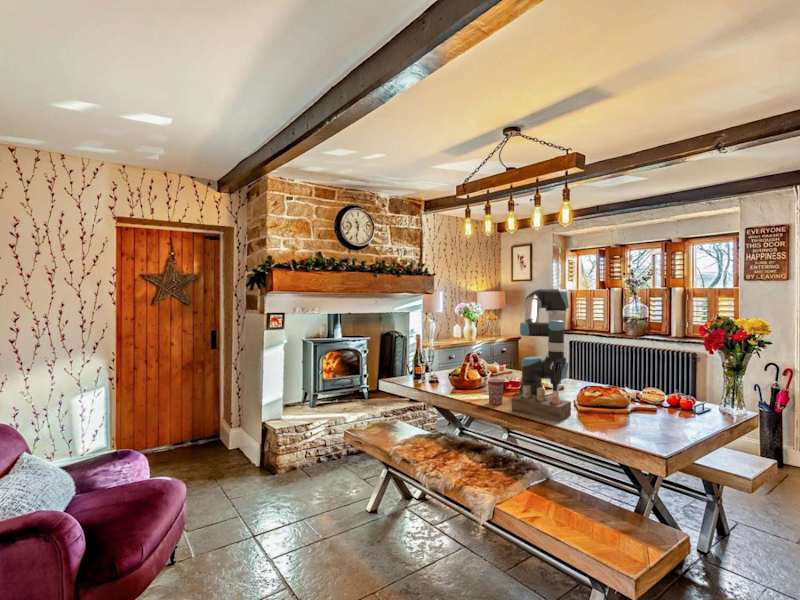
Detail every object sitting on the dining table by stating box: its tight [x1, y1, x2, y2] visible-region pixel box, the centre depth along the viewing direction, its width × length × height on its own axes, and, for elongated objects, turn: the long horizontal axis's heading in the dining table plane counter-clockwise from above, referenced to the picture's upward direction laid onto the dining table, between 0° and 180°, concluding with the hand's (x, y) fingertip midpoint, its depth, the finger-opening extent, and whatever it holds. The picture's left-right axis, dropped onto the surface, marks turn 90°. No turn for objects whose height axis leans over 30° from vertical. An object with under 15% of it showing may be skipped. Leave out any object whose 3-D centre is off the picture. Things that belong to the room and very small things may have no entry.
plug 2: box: [551, 395, 561, 404], centre depth 227 cm, size 4×4×8 cm
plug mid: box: [537, 387, 546, 402], centre depth 232 cm, size 4×4×8 cm
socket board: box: [511, 394, 572, 422], centre depth 232 cm, size 14×26×7 cm, turn 48°
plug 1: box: [523, 386, 531, 399], centre depth 237 cm, size 4×4×8 cm
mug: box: [487, 377, 507, 406], centre depth 252 cm, size 13×9×14 cm
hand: (555, 396), depth 226 cm, fingers closed
